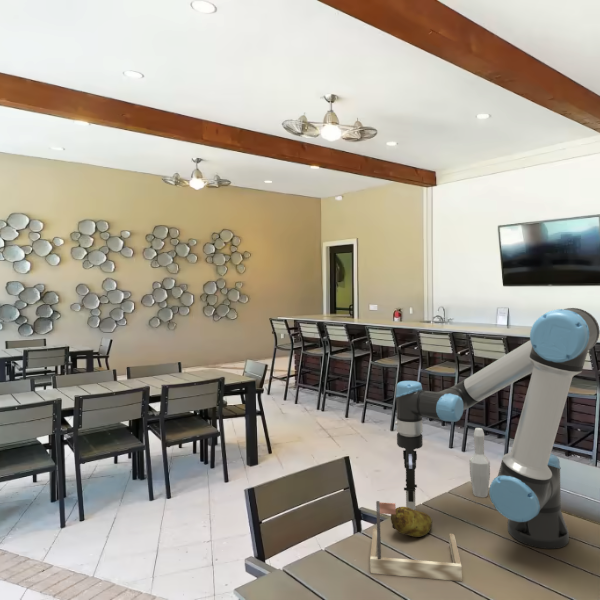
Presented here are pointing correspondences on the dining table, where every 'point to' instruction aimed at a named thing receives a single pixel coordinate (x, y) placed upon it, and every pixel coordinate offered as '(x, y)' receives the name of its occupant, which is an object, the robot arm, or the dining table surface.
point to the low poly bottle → (479, 466)
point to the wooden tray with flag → (406, 565)
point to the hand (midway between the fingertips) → (410, 510)
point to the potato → (411, 522)
